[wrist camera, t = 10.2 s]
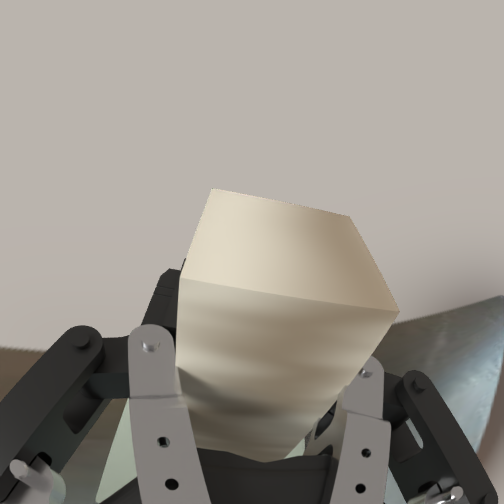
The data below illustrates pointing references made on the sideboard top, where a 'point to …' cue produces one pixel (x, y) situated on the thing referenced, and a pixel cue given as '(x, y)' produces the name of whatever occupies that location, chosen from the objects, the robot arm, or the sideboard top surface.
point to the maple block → (273, 321)
